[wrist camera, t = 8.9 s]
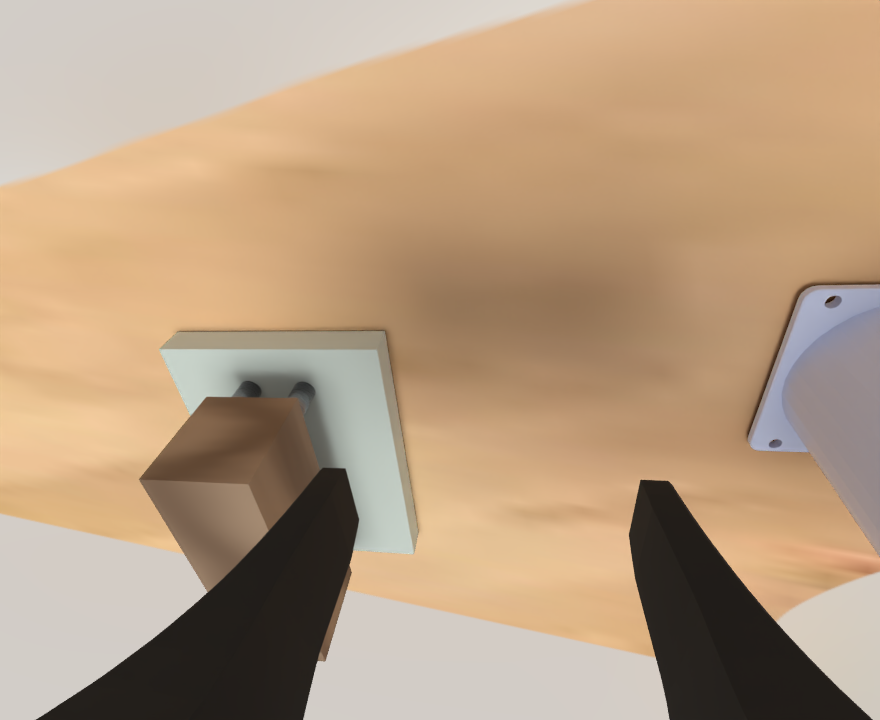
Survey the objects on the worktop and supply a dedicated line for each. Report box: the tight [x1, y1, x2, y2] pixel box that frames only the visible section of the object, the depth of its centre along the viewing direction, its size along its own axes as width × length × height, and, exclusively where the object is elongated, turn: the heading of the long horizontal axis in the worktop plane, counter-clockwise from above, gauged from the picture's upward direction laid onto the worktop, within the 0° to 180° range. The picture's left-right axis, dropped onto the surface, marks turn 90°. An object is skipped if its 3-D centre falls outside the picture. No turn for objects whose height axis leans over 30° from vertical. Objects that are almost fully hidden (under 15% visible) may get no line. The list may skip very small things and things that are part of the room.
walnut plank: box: [139, 397, 352, 661], centre depth 22 cm, size 4×12×4 cm, turn 5°
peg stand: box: [159, 331, 418, 554], centre depth 25 cm, size 10×14×4 cm
